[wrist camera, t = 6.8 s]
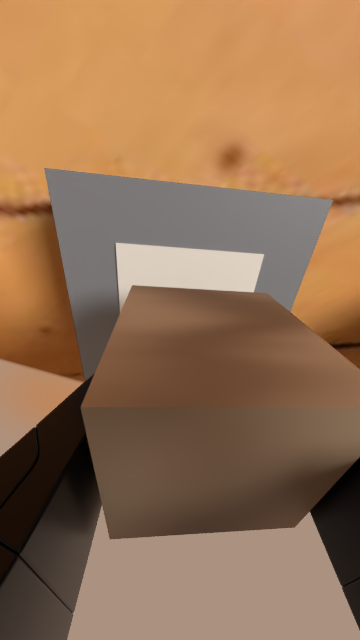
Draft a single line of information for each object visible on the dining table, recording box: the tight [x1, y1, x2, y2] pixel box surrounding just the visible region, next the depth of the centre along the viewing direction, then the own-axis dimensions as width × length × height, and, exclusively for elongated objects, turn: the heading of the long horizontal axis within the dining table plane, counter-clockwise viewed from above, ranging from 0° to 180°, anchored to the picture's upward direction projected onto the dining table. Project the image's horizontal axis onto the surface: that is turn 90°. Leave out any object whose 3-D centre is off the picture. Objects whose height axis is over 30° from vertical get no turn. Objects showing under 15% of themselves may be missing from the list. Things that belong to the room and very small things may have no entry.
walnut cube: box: [80, 285, 360, 539], centre depth 6 cm, size 5×5×5 cm
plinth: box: [44, 168, 333, 381], centre depth 13 cm, size 12×12×4 cm
